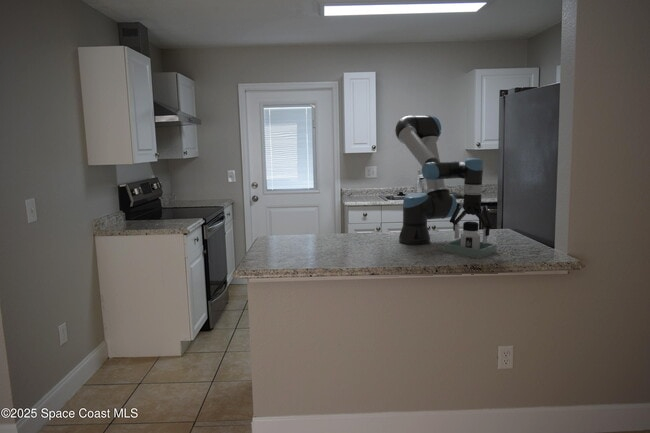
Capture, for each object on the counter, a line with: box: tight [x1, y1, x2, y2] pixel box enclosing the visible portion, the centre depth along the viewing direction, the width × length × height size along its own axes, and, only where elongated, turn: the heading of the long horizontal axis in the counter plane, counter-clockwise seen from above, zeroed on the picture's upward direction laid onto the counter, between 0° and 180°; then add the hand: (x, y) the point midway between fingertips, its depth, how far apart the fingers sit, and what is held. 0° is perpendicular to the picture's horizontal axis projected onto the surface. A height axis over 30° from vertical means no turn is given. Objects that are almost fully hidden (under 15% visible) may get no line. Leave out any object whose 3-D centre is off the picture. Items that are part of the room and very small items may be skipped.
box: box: [443, 237, 498, 259], centre depth 224 cm, size 18×15×4 cm
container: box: [460, 220, 481, 249], centre depth 223 cm, size 8×8×13 cm
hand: (470, 240), depth 224 cm, fingers open, 13 cm apart
